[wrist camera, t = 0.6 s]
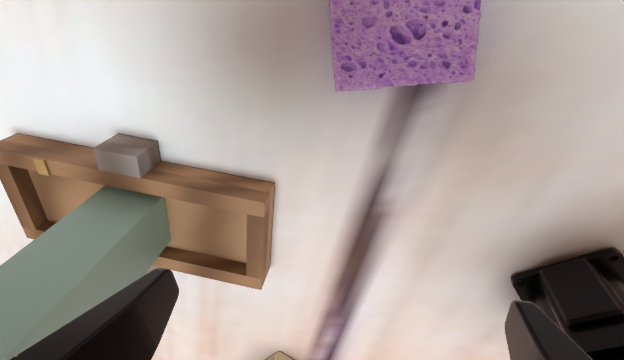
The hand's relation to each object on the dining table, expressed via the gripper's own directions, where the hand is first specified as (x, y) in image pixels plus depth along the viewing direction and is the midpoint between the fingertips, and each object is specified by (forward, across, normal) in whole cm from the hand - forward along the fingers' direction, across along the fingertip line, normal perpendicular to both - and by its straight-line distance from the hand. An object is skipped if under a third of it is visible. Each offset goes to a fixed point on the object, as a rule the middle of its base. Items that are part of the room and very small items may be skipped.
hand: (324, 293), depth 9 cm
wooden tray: (+13, +17, +7) cm, 22 cm away
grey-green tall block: (+12, +17, +7) cm, 21 cm away
